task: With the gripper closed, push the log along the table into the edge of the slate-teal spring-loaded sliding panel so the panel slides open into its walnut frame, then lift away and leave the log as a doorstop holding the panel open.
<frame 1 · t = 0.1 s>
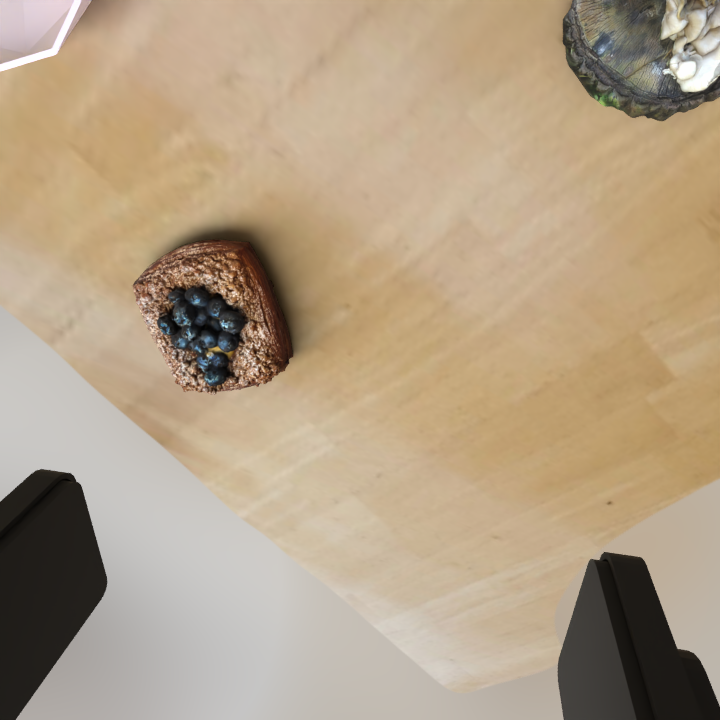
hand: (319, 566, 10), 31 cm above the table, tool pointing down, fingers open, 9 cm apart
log: (662, 6, 30), on the table
pastry: (224, 309, 44), on the table
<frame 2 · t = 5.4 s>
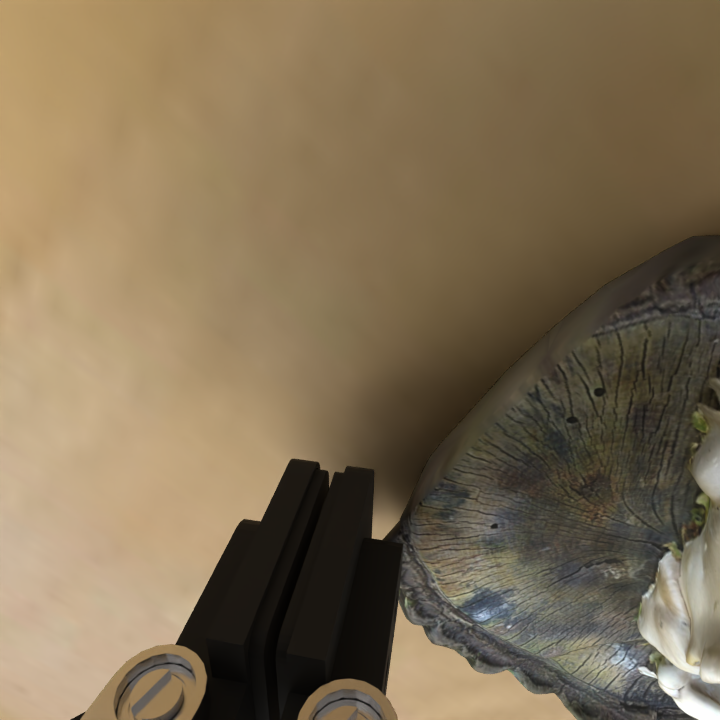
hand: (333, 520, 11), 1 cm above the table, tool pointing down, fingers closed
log: (650, 508, 11), on the table, touching gripper
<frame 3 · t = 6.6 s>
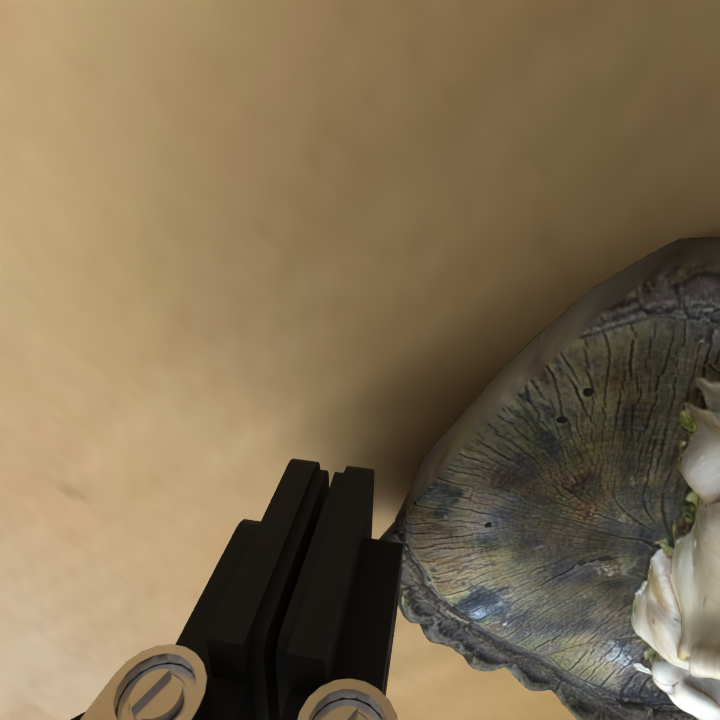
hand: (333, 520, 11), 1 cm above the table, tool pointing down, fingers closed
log: (643, 506, 12), on the table
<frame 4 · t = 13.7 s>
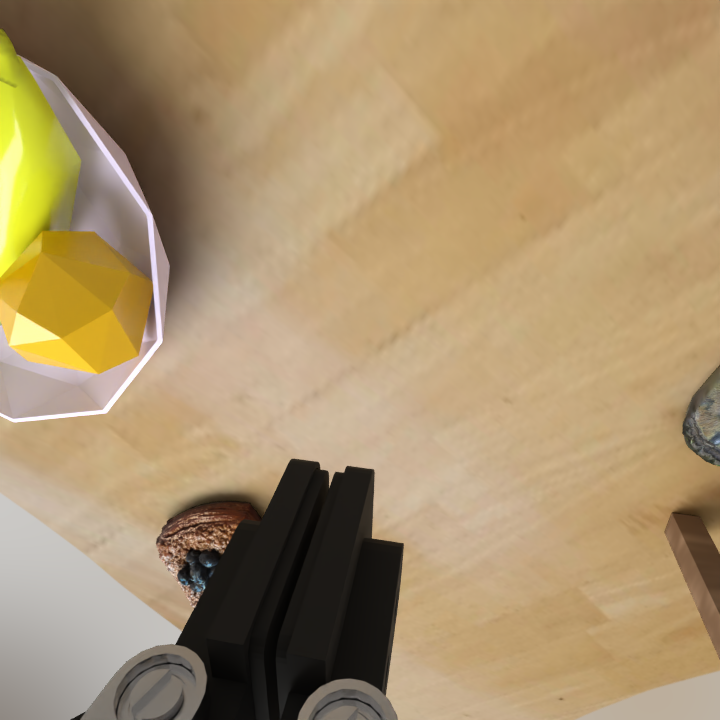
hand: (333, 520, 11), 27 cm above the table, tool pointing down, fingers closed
fruit bowl: (46, 222, 40), on the table
pastry: (232, 543, 52), on the table
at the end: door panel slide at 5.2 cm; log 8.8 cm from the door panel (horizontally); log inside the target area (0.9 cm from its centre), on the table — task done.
